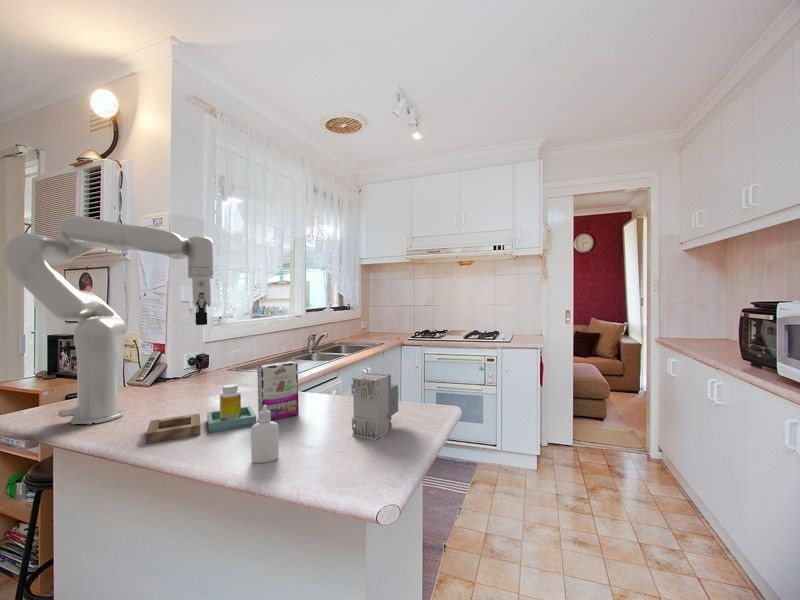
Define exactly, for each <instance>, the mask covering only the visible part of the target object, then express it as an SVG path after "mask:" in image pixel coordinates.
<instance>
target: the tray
mask: <svg viewBox="0 0 800 600" xmlns="http://www.w3.org/2000/svg"><path fill="white" fill-rule="evenodd" d="M206 416H207V417H206V421H207V429H208V433H209V434H210V433H216V432H223V431H229V430H233V429H240V428H246V427H250V426H251V427H252V426H253V425H254V424H256V423H257V415H256V413H255V412H254V410H253V409H252V406H251V405H248V406H247V405H246V406H242V407H241V418H235V419H228V420H222V421H220V410H215V411H209V412H207V413H206Z"/></svg>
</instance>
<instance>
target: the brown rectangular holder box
mask: <svg viewBox="0 0 800 600" xmlns="http://www.w3.org/2000/svg"><path fill="white" fill-rule="evenodd" d="M147 426H148V427H147V430H146V432H145V444H146V445H148V444H152V443H153V444H155V443H157V442H164V441H170V440H176V438H177V439H181V437H182V438H188V437H193V436H199V435H201V429H202V428H201V414H200V413H194V414H188V415H180V416H172V417H167V418H166V417H165V418H161V419H153V420H150V421H149V424H148V425H147ZM187 436H188V437H187Z"/></svg>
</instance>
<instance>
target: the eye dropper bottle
mask: <svg viewBox="0 0 800 600" xmlns="http://www.w3.org/2000/svg"><path fill="white" fill-rule="evenodd" d="M270 420H271V411H269V410H267V406H266V405H264V406H263V409H262V411H260V412H259V415H258V422H256V424H254V425H252V426H251V431H250V439H251V441H250V442H251V444H250V445H251V447H250V449H251V452H250V453H251V455H250V456H251V458H250V459H251V462H252V463H253V464H263V463H264V464H265V463H270V461H271V462H274V461H277V460H278V459H279V455H280V452H279V451H280V449H279V448H280V446H279V444H280V443H279V440H280V439H279V423H277V422H276V421H274V420H272V421H270Z"/></svg>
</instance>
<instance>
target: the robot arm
mask: <svg viewBox="0 0 800 600" xmlns="http://www.w3.org/2000/svg"><path fill="white" fill-rule="evenodd" d="M58 229H59V230H58V231H59V233H60V234H59V235H57V236H55V237H53V238H52V237H49V236H45V235H42V234H39V233H31V232H30V233H29V232H27V233H26V232H25V233H20V234H17V235H14V236H13V237H12V238H10V239H9V241H8V242H7V243H6V245H5V247H4V251H3V260H4V264H5V267H6V269H7V270H8V271H9V273H10V274H11V275H12V277H13V278H14V279H16V281H17V282H18V283H19V284H21V285H22V286H23V288H25V289H26V290H27V291H28V292H30V294H31V295H32V296H34V298H35V299H36V300H37V301H38V302H40V303H41V304H42V305H43V306H44V307H45V308H46V309H47V310H48V311H49V312H50V313H51V314H52V315H53V316H54V317H56V318H58V319H60V320H62V321H70V322H71V321H73V322H74V321H75V322H78V324H77V325H76V327H75V329H74V331H73V342H74V347H75V352H76V354H75V355H76V374H77V375H76V376H77V377H76V378H77V379H76V380H77V381H76V387H77V388H76V389H77V392H76V393H77V394H76V395H77V396H76V398H77V399H76V400H77V403H76V404H77V405H76V406H74V407H73V408H68V409H67V408H66V409H59V410H58V414H57V415H58V417H59V418H60V417H61V418H65V417H71V418H70V424H71V423H73V424H72V425H74V424H87V425H93V424H92V423H95V424H101V423H105V422H110V421H113V420H116V419H119V418H121V417H123V416H124V414H125V411H124V410H123V409H119V406H118V403H119V402H118V395H119V394H118V353H117V349H116V344H117V343H119V342H121V341H122V340H123V339H124V338H125V337H126V336H127V332H128V327H127V324H126V322H125V321H124V319H122V318H121V316H120V315H119V314H117V312H116V311H115V310H114V309H113V308H111V307H110V306H109V305H108V304H107V303H106V302H105V301H104V299H102V298H100V297H99V296H98V295H96V294H95V293H93V292H90V291H86V290H80V289H77V288H76V287H75V286H74V285H72V284H71V283H70V282H69V281H68V280H67V279H66V278H65V277H64V276H63V275H62V274H61V273H59V272H58V271H57V270H55V268H52V266H54V267H57V266H61V265H65V264H68V263H69V262H71V261H73V260H75V259H78V258H80V257H81V256H83V255H85V254H88V253H90V252H91V251H93V250H96V249H97V248H103V249H109V250H113V251H114V250H115V251H119V252H120V251H121V252H127V251H142V252H148V253H154V254H159V255H164V256H166V257H169V259H170V258H171V259H173V260H182V259H183V260H184V259H187V278H188V279H191V281H192V282H191V285H192V286H191V287H192V291H191V292H192V300H193V306H194V307H195V308H196V309H195V310H196V311H195V325H196V326H208V312H207V307H208V308H209V307H211V305H212V301H211V299H212V297H211V295H212V293H211V291H212V289H211V287H212V286H211V279H214V242H213V240H212V238H210V237H207V236H198V235H197V236H196V235H195V236H190V237H189V238H186V237H185V238H184V237H181V236H180V235H179V234H177V233H175V232H171V231H168V230H165V229H159V228H154V227H153V228H152V227H147V226H140V225H132V224H127V223H126V224H125V223H121V222H114V221H109V220H105V219H103V220H102V219H98V218H93V217H87V216H83V215H81V216H80V215H69V216H67V217H64V218H62V220H60V223H59V225H58Z"/></svg>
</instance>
